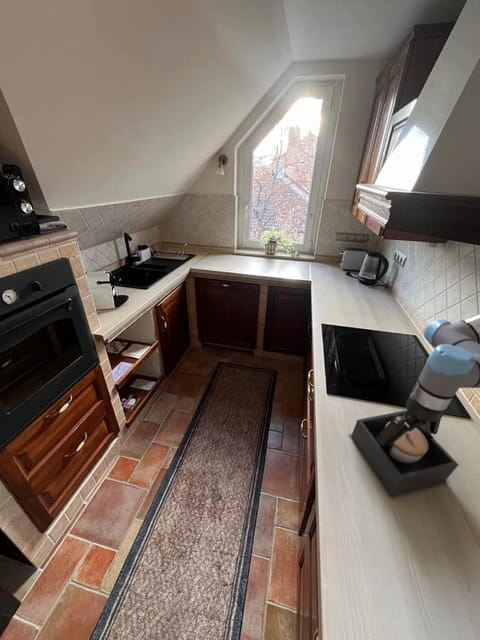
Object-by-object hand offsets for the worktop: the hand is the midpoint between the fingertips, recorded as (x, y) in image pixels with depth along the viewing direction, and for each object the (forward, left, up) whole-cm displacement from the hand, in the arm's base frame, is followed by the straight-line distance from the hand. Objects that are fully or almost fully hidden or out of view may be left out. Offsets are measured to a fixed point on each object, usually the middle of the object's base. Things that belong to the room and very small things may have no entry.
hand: (397, 451), depth 75 cm
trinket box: (0, 0, -1) cm, 1 cm away
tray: (0, 0, -3) cm, 3 cm away
